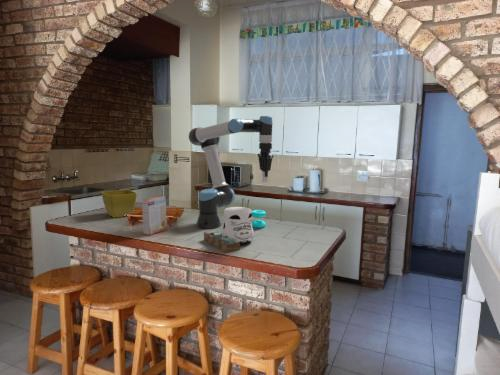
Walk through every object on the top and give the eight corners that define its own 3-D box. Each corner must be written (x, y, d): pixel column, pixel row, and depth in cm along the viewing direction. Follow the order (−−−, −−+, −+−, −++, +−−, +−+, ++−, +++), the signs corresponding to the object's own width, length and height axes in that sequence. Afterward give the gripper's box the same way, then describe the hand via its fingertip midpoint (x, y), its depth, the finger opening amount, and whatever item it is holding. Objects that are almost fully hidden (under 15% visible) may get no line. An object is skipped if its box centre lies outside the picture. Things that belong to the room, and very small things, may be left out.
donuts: (252, 213, 221) (248, 209, 231) (252, 228, 223) (248, 224, 232) (268, 212, 224) (263, 209, 233) (267, 227, 225) (263, 224, 235)
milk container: (244, 248, 186) (244, 214, 183) (216, 243, 193) (216, 211, 190) (258, 239, 201) (259, 208, 198) (231, 235, 208) (231, 205, 206)
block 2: (221, 247, 187) (221, 239, 186) (226, 245, 190) (226, 237, 190) (228, 249, 184) (228, 240, 184) (233, 246, 188) (233, 238, 187)
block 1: (214, 240, 199) (214, 232, 198) (222, 240, 199) (222, 232, 198) (213, 242, 194) (213, 234, 194) (222, 242, 195) (222, 234, 194)
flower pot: (128, 211, 267) (127, 189, 264) (138, 216, 252) (137, 192, 250) (102, 214, 255) (100, 191, 252) (111, 219, 240) (109, 195, 238)
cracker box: (159, 228, 220) (158, 195, 217) (167, 230, 217) (166, 196, 214) (142, 234, 209) (141, 199, 205) (149, 235, 205) (148, 200, 202)
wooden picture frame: (203, 239, 199) (203, 232, 198) (218, 237, 204) (218, 229, 203) (224, 252, 179) (224, 243, 178) (240, 249, 184) (240, 241, 183)
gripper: (277, 142, 206) (276, 183, 210) (264, 142, 217) (263, 180, 221) (266, 143, 202) (265, 183, 206) (254, 142, 213) (253, 181, 217)
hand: (264, 182), depth 213 cm, fingers closed
